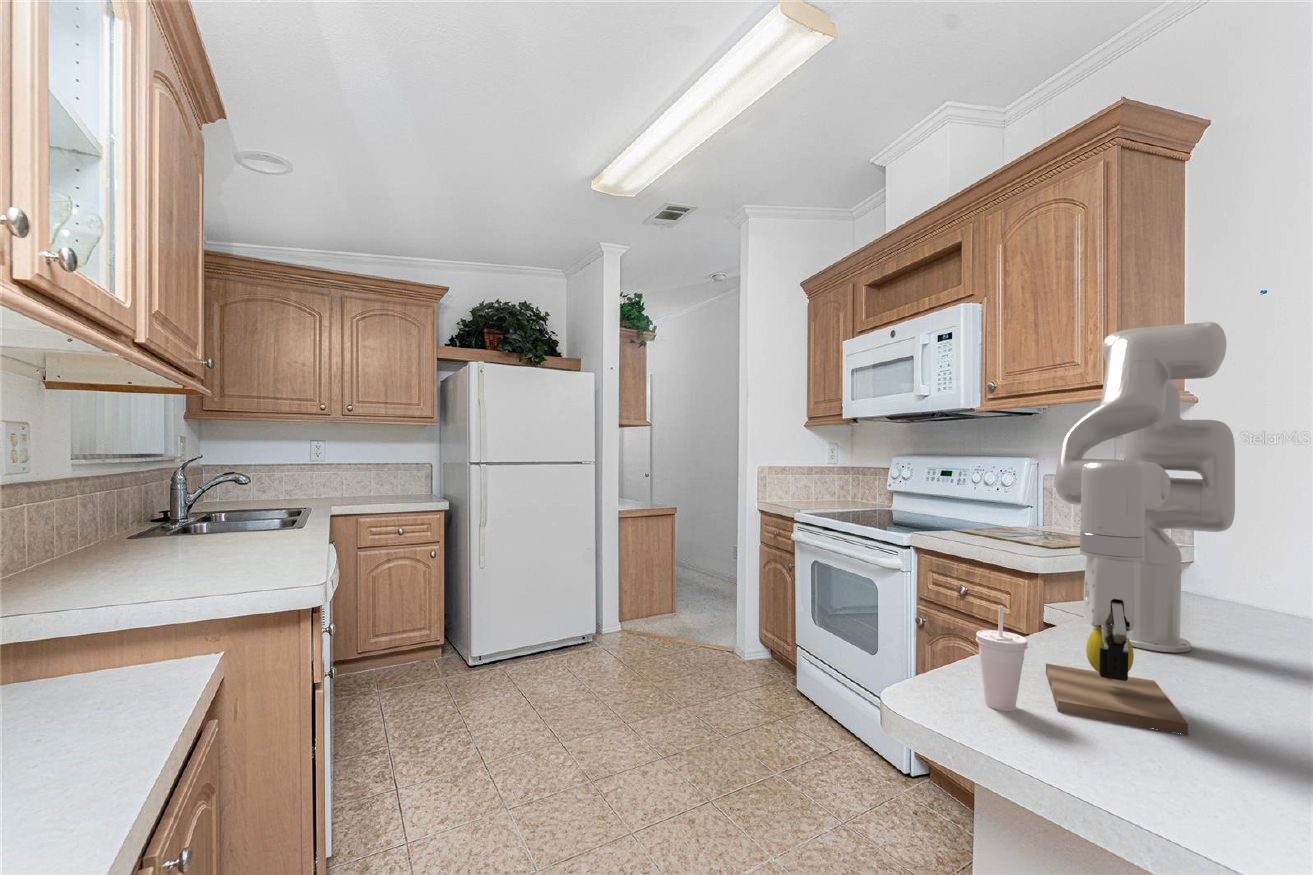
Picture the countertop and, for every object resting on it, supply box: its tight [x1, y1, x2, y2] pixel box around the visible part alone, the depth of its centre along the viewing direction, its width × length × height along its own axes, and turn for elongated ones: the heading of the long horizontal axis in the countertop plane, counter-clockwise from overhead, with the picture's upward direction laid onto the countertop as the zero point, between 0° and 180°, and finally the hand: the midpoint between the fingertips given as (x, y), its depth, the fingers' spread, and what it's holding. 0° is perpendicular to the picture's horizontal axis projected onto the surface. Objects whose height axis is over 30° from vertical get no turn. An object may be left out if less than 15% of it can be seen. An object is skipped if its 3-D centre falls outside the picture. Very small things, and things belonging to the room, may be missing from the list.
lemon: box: [1086, 624, 1135, 680], centre depth 90 cm, size 6×6×8 cm
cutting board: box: [1045, 663, 1189, 736], centre depth 90 cm, size 17×14×2 cm
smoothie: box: [975, 605, 1029, 712], centre depth 87 cm, size 6×6×14 cm
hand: (1109, 670), depth 90 cm, fingers closed on lemon, 5 cm apart
